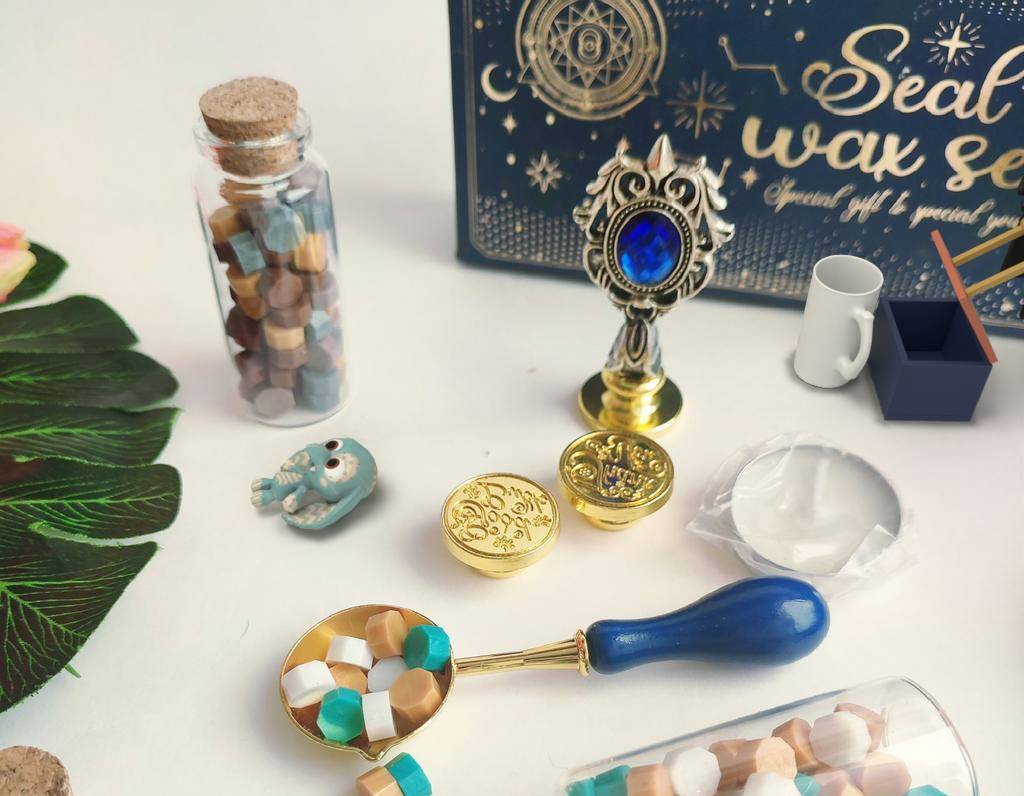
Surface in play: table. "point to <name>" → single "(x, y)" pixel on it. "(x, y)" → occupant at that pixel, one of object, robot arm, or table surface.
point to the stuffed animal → (320, 482)
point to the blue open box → (926, 360)
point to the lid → (967, 293)
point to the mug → (837, 321)
